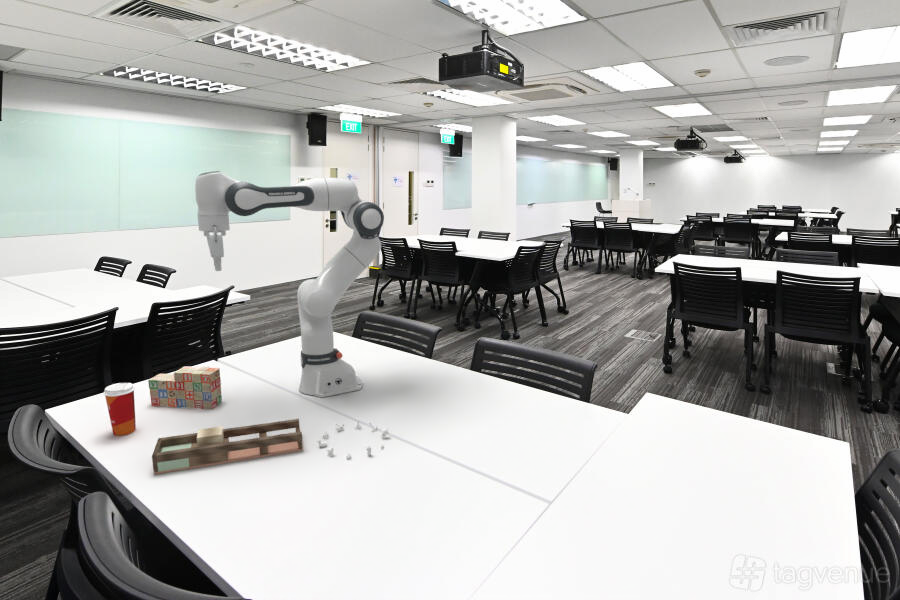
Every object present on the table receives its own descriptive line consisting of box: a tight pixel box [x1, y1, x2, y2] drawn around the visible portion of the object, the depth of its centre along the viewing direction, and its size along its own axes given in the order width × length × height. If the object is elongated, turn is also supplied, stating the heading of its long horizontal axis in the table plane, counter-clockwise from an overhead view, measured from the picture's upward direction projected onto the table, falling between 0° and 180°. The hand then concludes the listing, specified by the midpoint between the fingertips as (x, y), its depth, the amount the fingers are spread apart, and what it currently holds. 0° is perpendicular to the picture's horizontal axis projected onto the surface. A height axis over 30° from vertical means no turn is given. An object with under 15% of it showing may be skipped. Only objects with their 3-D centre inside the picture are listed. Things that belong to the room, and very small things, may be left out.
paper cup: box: [103, 382, 137, 437], centre depth 149 cm, size 8×8×14 cm
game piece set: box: [316, 418, 389, 460], centre depth 145 cm, size 19×20×4 cm
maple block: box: [197, 425, 224, 447], centre depth 136 cm, size 6×5×4 cm
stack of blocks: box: [148, 365, 223, 410], centre depth 169 cm, size 21×6×12 cm, turn 85°
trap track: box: [151, 418, 304, 475], centre depth 138 cm, size 36×10×5 cm, turn 111°
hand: (217, 268), depth 162 cm, fingers open, 8 cm apart
